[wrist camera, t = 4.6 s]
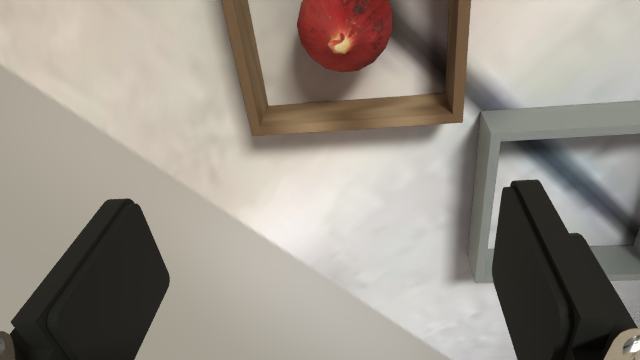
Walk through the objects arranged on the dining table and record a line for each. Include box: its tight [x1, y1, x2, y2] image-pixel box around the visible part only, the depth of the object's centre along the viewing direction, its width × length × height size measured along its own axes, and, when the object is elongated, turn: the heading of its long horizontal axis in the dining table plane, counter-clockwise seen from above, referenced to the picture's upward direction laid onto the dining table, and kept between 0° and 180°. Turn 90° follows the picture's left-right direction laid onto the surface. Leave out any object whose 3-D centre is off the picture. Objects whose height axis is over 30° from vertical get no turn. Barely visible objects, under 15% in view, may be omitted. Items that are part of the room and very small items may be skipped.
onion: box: [297, 0, 393, 72], centre depth 28 cm, size 6×6×8 cm
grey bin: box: [468, 101, 640, 283], centre depth 36 cm, size 15×15×4 cm
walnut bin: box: [222, 0, 471, 136], centre depth 29 cm, size 15×15×4 cm
